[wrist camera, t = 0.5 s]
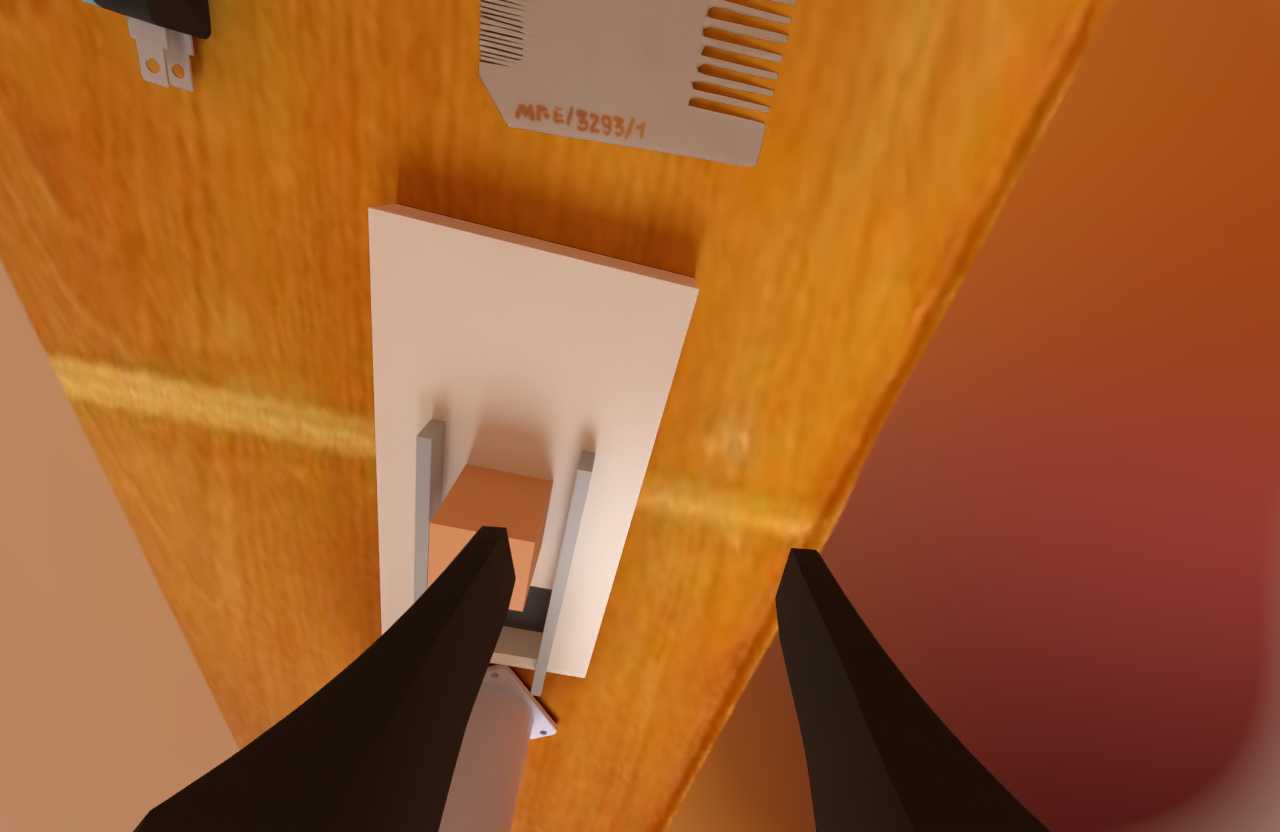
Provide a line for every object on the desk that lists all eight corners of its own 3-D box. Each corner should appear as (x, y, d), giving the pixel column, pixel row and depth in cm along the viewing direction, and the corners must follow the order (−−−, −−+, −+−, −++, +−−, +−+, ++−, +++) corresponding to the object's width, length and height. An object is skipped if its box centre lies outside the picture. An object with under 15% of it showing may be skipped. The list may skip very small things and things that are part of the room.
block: (541, 545, 24) (522, 611, 20) (461, 529, 23) (427, 595, 20) (553, 481, 22) (534, 542, 18) (466, 464, 21) (429, 522, 18)
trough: (588, 648, 30) (581, 703, 27) (398, 616, 29) (368, 669, 26) (694, 278, 19) (703, 299, 16) (395, 203, 18) (343, 211, 15)
